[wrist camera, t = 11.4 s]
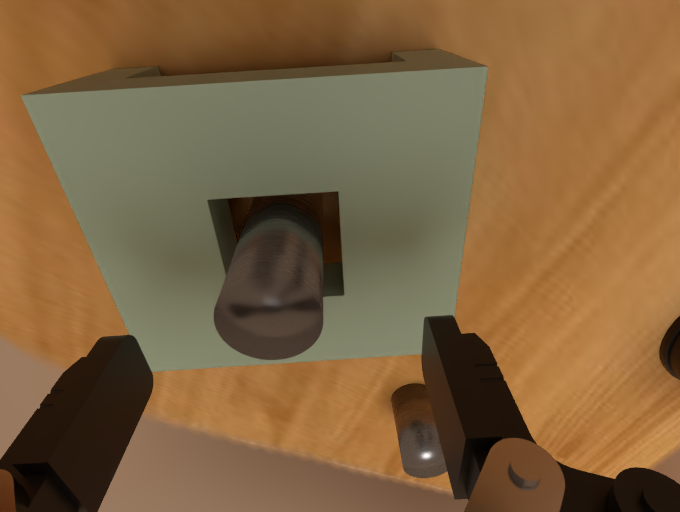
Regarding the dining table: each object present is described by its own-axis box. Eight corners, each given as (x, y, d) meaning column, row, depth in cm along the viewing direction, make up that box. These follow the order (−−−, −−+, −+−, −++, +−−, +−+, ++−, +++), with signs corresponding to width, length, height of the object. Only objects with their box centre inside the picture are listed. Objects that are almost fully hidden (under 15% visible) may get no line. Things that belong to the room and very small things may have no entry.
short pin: (436, 382, 28) (456, 447, 24) (432, 410, 30) (450, 476, 26) (391, 385, 28) (403, 451, 24) (390, 413, 30) (402, 479, 26)
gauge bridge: (438, 48, 17) (488, 66, 12) (421, 277, 23) (449, 352, 18) (111, 69, 17) (20, 95, 12) (185, 292, 23) (146, 372, 18)
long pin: (320, 156, 19) (319, 273, 11) (324, 215, 21) (327, 356, 12) (254, 160, 19) (201, 281, 11) (264, 219, 21) (226, 363, 12)
